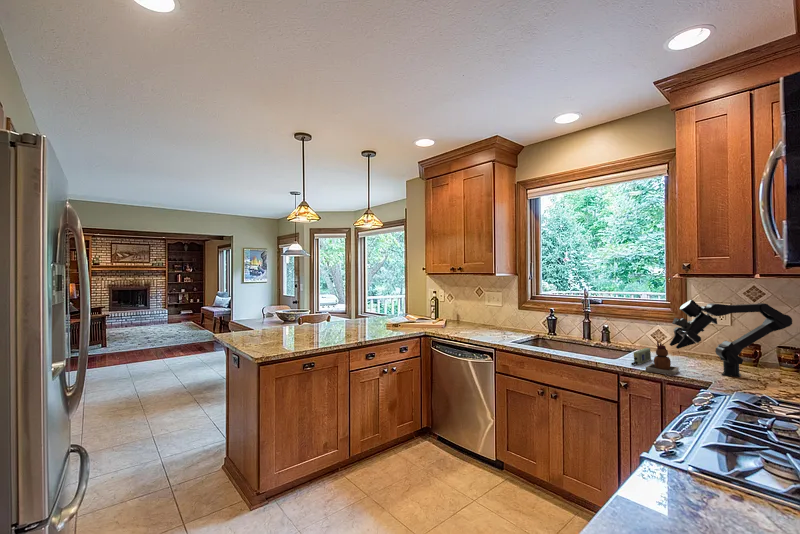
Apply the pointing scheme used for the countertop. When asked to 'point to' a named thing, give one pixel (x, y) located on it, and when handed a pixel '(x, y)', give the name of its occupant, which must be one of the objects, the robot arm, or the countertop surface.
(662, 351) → the wooden figurine
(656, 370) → the grey shallow tray
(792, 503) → the countertop surface
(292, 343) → the countertop surface
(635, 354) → the handheld radio
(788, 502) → the countertop surface
